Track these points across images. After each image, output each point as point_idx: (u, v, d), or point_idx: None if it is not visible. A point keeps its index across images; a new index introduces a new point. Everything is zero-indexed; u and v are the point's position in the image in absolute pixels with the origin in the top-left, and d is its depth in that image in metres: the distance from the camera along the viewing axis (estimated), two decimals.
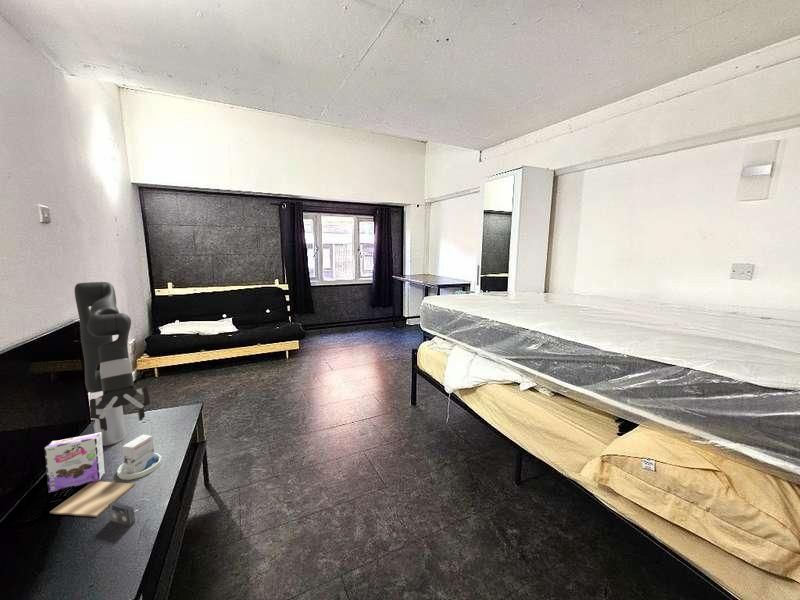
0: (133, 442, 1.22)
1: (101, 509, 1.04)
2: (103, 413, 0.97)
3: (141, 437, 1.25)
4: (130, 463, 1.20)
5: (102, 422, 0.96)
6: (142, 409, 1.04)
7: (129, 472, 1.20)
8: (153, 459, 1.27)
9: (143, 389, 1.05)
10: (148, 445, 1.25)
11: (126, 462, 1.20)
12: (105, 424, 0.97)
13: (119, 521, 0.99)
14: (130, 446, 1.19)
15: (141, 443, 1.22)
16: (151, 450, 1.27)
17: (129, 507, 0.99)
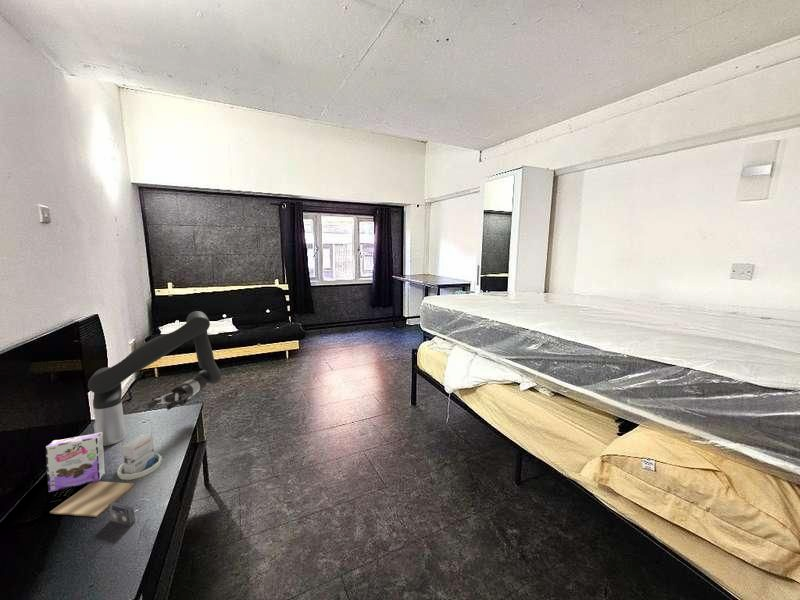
0: (133, 442, 1.22)
1: (101, 509, 1.04)
2: None
3: (141, 437, 1.25)
4: (130, 463, 1.20)
5: (173, 406, 1.35)
6: None
7: (129, 472, 1.20)
8: (153, 459, 1.27)
9: (163, 398, 1.43)
10: (148, 445, 1.25)
11: (126, 462, 1.20)
12: None
13: (119, 521, 0.99)
14: (130, 446, 1.19)
15: (141, 443, 1.22)
16: (151, 450, 1.27)
17: (129, 507, 0.99)
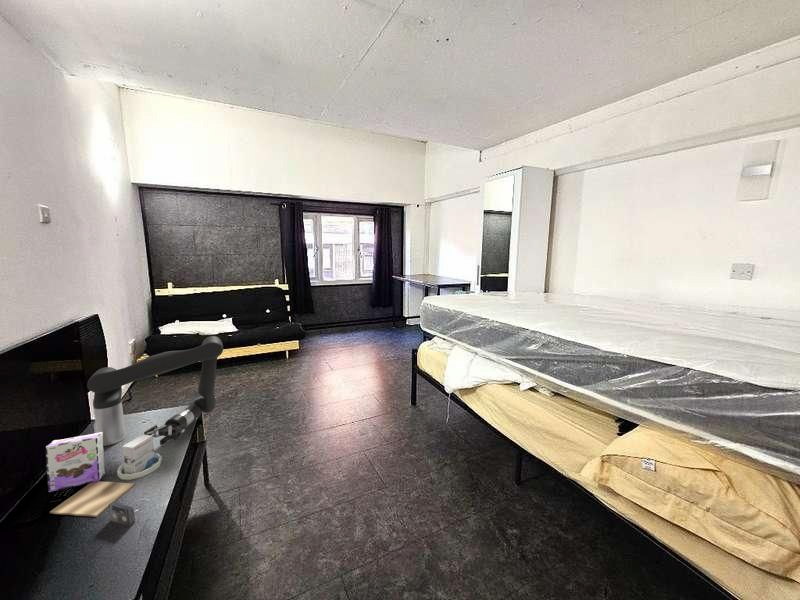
0: (133, 442, 1.22)
1: (101, 509, 1.04)
2: None
3: (141, 437, 1.25)
4: (130, 463, 1.20)
5: None
6: None
7: (129, 472, 1.20)
8: (153, 459, 1.27)
9: None
10: (148, 445, 1.25)
11: (126, 462, 1.20)
12: None
13: (119, 521, 0.99)
14: (130, 446, 1.19)
15: (141, 443, 1.22)
16: (151, 450, 1.27)
17: (129, 507, 0.99)
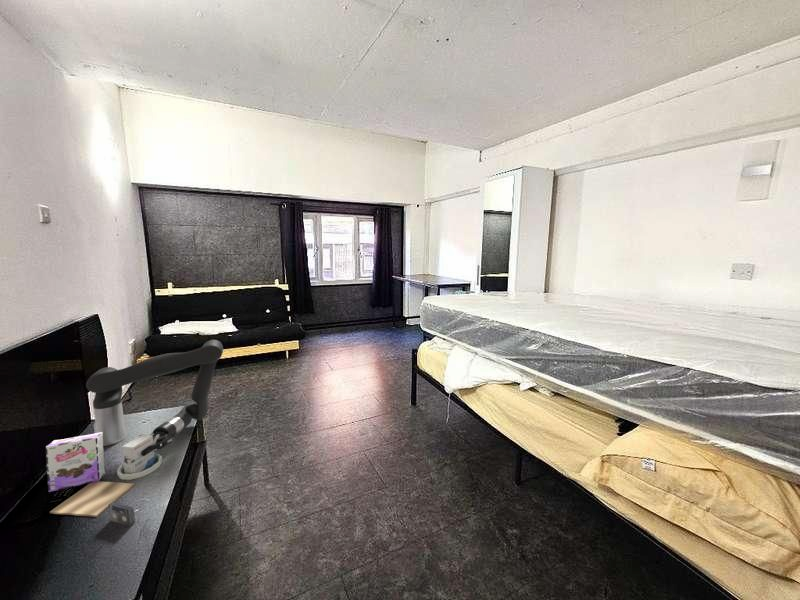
0: (133, 442, 1.22)
1: (101, 509, 1.04)
2: None
3: (141, 437, 1.25)
4: (130, 463, 1.20)
5: (149, 451, 1.25)
6: None
7: (129, 472, 1.20)
8: (153, 459, 1.27)
9: None
10: (148, 445, 1.25)
11: (126, 462, 1.20)
12: None
13: (119, 521, 0.99)
14: (130, 446, 1.19)
15: (141, 443, 1.22)
16: None
17: (129, 507, 0.99)
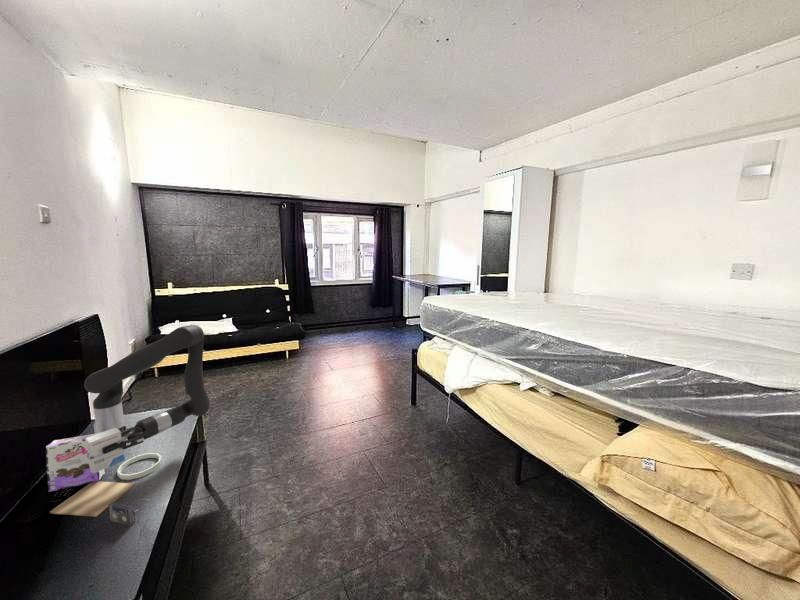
0: (97, 435, 1.09)
1: (101, 509, 1.04)
2: None
3: (110, 431, 1.11)
4: (90, 460, 1.06)
5: (113, 449, 1.10)
6: None
7: (90, 468, 1.08)
8: (121, 458, 1.13)
9: None
10: (113, 442, 1.10)
11: (88, 456, 1.07)
12: None
13: (119, 521, 0.99)
14: (90, 440, 1.06)
15: (103, 439, 1.08)
16: None
17: (129, 507, 0.99)
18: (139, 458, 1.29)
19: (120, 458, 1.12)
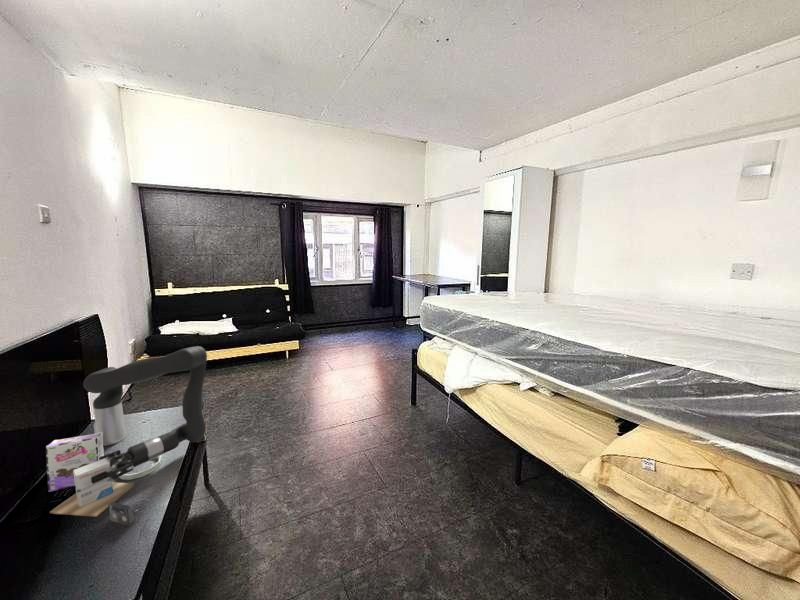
0: (85, 467, 1.06)
1: (101, 509, 1.04)
2: None
3: (99, 462, 1.09)
4: (76, 493, 1.04)
5: None
6: None
7: None
8: (109, 490, 1.10)
9: None
10: None
11: None
12: None
13: (119, 521, 0.99)
14: (77, 473, 1.04)
15: (91, 471, 1.05)
16: (107, 480, 1.09)
17: (129, 507, 0.99)
18: None
19: (108, 490, 1.10)
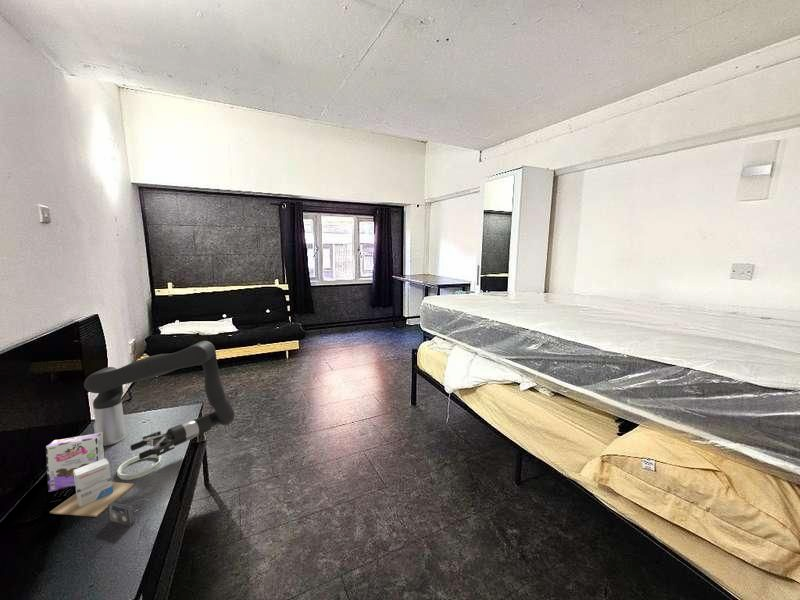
0: (85, 467, 1.06)
1: (101, 509, 1.04)
2: None
3: (99, 462, 1.09)
4: (77, 493, 1.04)
5: (148, 455, 1.18)
6: None
7: None
8: (109, 490, 1.10)
9: None
10: (101, 474, 1.08)
11: None
12: None
13: (119, 521, 0.99)
14: (77, 473, 1.04)
15: (91, 471, 1.05)
16: (107, 480, 1.09)
17: (129, 507, 0.99)
18: (139, 458, 1.29)
19: (108, 490, 1.10)
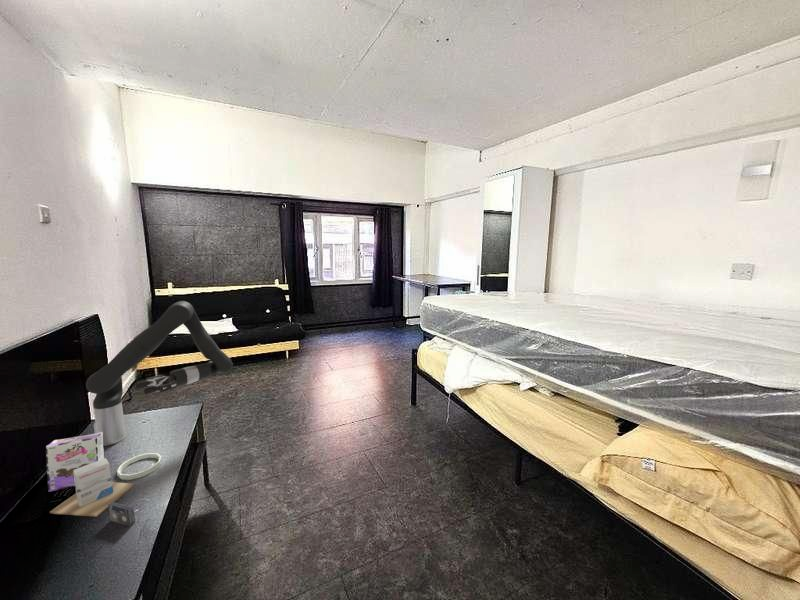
0: (85, 467, 1.06)
1: (101, 509, 1.04)
2: None
3: (99, 462, 1.09)
4: (77, 493, 1.04)
5: (152, 391, 1.26)
6: None
7: None
8: (109, 490, 1.10)
9: None
10: (101, 474, 1.08)
11: None
12: None
13: (119, 521, 0.99)
14: (77, 473, 1.04)
15: (91, 471, 1.05)
16: (107, 480, 1.09)
17: (129, 507, 0.99)
18: (139, 458, 1.29)
19: (108, 490, 1.10)
